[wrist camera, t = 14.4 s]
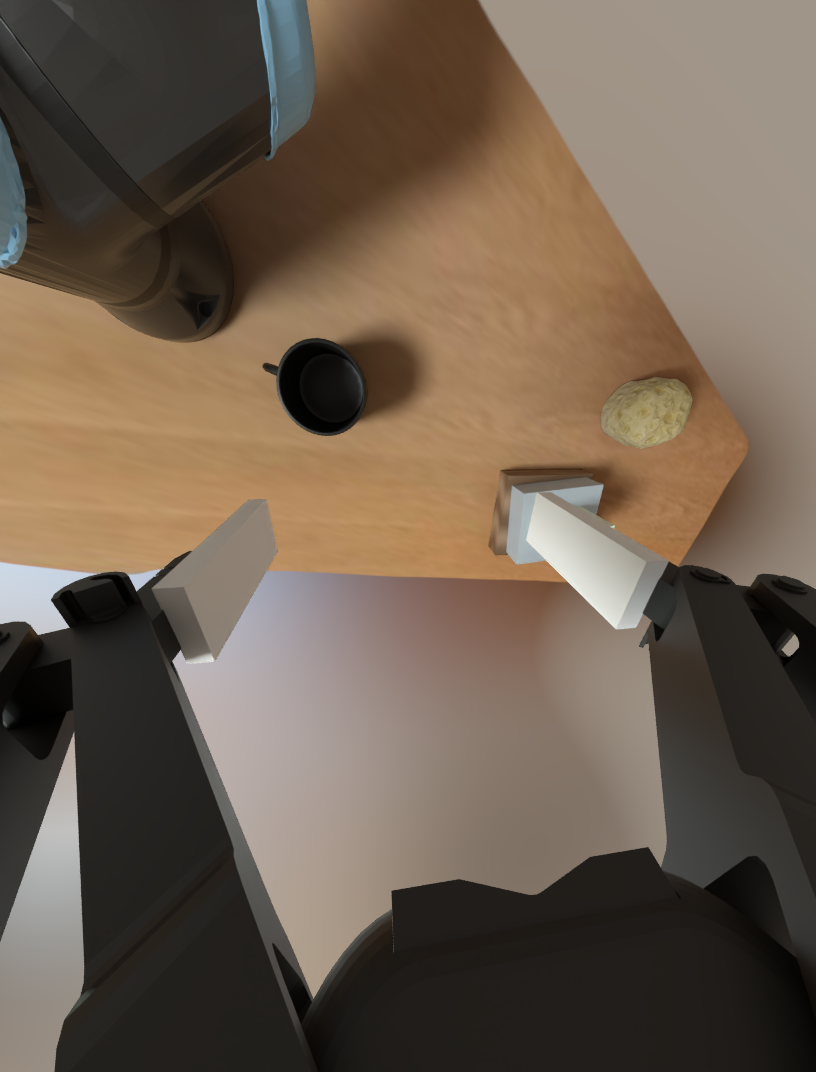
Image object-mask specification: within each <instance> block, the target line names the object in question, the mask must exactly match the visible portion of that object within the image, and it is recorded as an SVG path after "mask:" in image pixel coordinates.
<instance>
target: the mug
mask: <svg viewBox="0 0 816 1072" xmlns="http://www.w3.org/2000/svg"><path fill="white" fill-rule="evenodd" d="M263 368H264V370H265V371H267V372H269V373H271V374H274V375H276V376H277V379H276V382H277V391H278V395H279V398H280V401H281V404H282V406H283V408H284V409H285V411H286V413H287V414H288V415H289V417H290V418H291V419H292V420H293V421H294V422H295V423H296V424H297V425H299V426H300V427H301V428H303V429H305V430H306V431H308V432H311V433H313V434H317V435H322V436H332V435H337V434H341V433H343V432H345V431H347V430H348V429H350V428H351V427H352V426H353V425H354V424H355V423H356V422H357V421H358V420H359V418H360V416H361V415H362V413H363V410H364V407H365V404H366V400H367V384H366V380H365V377H364V374H363V372H362V370H361V369H360V367H359V365H358V363H357V362H356V360H355V359H354V358H353V356H352V355H351V354H350V353H349V352H348V351H347V350H345V349H344V348H343V347H341V346H340V345H338V344H336V343H334V342H332V341H329V340H326V339H320V338H311V339H306V340H302V341H300V342H298V343H296V344H295V345H293V346H292V347H290V348H289V349H288V351H287V352H286V353H285V354H284V356H283V357H282V359H281V361H280V364H279V367H278V366H275V365H272V364H269V363H264V364H263Z"/></svg>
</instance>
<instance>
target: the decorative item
mask: <svg viewBox="0 0 816 1072" xmlns="http://www.w3.org/2000/svg"><path fill="white" fill-rule="evenodd" d="M692 400H693V399H692V395H691V393H690V391H689V389H688V388H687V386H686V385H685V384H684V383H682V382H680V381H679V380H678V379H669V378H661V377H654V378H651V379H647V380H640V381H630V382H627V383H626V384H624V385H622V386H621V387H620V388H618V389H617V390H616V391H615V392H614V393H613V394H612V396H611V397H610V398H609V399H608V401H607V402H606V403H605V405H604V406H603V409H602V415H601V426H602V429H603V431H604V432H605V433H606V434H607V435H609V436H610V437H612V438H614V439H616V440H617V441H618V442H620V443H622V444H624V445H626V446H633V447H638V448H639V449H644V448H648V447H650V446H655V445H659V444H662V443H665V442H667V441H669V440H670V439H672V438H674V437H676V436H677V435H678V434H679V433H681V432H682V430H683V428H684V427H685V423H686V422H687V420H688V416H689V412H690V411H691V406H692V405H691V404H692Z"/></svg>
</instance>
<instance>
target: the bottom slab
mask: <svg viewBox="0 0 816 1072" xmlns="http://www.w3.org/2000/svg"><path fill="white" fill-rule="evenodd" d="M593 475H594V474H592V473H589V472H587V471H584V470H581V469H564V470H509V471H500V476H499V482H498V489H497V495H496V501H495V508H494V514H493V521H492V527H491V533H490V540H489V547H490V549H491V550H492V551H493V553H494V554H495V555H508V554H507V552H506V549H507V538H508V526H509V515H510V503H511V492H512V485H521V484H530V483H538V482H547V481H556V480H565V479H573V478H582V477H587V478H589V479H593Z"/></svg>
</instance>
